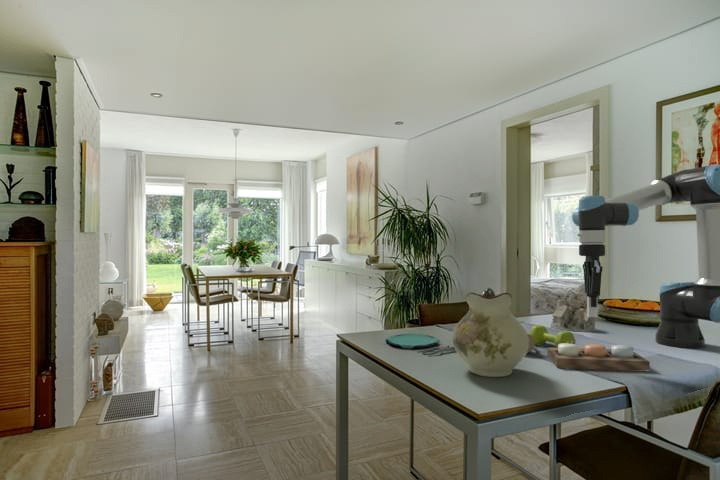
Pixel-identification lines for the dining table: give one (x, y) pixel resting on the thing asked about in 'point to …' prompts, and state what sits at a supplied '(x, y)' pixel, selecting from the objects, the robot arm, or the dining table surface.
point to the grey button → (622, 351)
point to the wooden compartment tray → (598, 361)
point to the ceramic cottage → (572, 317)
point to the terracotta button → (595, 350)
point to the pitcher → (490, 335)
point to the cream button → (568, 349)
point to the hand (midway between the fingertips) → (592, 316)
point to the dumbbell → (550, 336)
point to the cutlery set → (418, 343)
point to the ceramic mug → (531, 344)
